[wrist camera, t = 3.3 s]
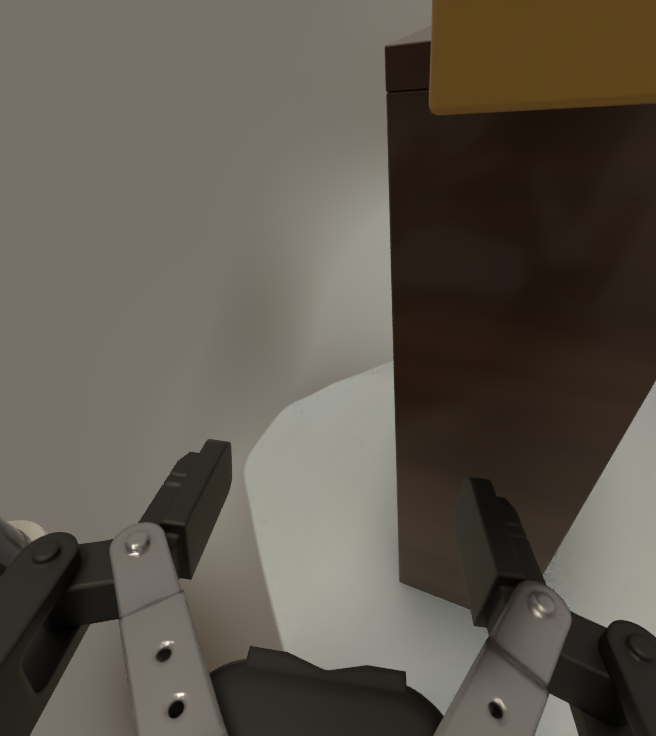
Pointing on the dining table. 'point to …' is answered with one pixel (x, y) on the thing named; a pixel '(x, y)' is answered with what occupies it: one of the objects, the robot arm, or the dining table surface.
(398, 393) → the dark brown tall slab
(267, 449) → the dining table surface
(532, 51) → the mustard yellow plank
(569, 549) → the dining table surface
